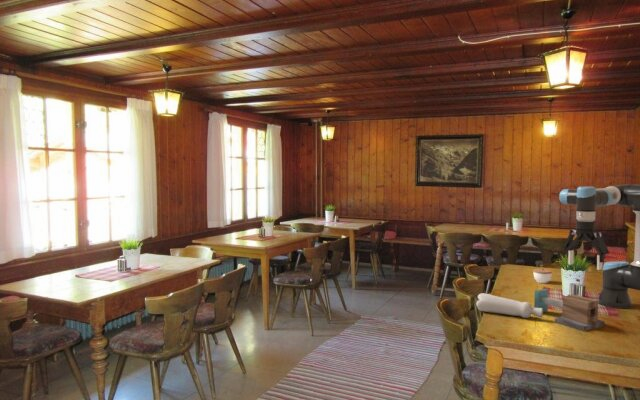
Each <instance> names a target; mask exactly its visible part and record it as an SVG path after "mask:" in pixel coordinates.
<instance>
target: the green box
mask: <svg viewBox="0 0 640 400" xmlns="http://www.w3.org/2000/svg"><path fill="white" fill-rule="evenodd" d="M549 306H552V307H555V308H559V309H562V308H563V299H559V298H555V297H550V296H549V288H541V289H537V290H534V305H533V308H535V307H536V308H543V313H545V312H548V311H549Z"/></svg>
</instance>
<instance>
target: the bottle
mask: <svg viewBox="0 0 640 400" xmlns="http://www.w3.org/2000/svg"><path fill="white" fill-rule="evenodd" d="M476 307H477V310H479V311H480V312H485V313H491V314H501V315H507V316H513V317H514V316H515V317H521V318H522V319H528V318H530V317H531V316H534V317H538V318H540V319H542V318H543V315H544V312H543V308H536V307H535V308H534V307H532V304H531V303H529V302H528V301H523V302H522V301H519V300H515V299H510V298H507V297H502V296H497V295H493V294H490V293H485V292H482V293H479V294H478V295H477V301H476Z"/></svg>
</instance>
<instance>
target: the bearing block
mask: <svg viewBox="0 0 640 400" xmlns="http://www.w3.org/2000/svg"><path fill="white" fill-rule="evenodd" d="M562 301H563V308H561V309H562V311H561V316H557V317H555V318H554V323H556V324H559V325H563V326H565V327H569V328H572V329H575V330H579V331H582V332H586V331H590V330H593V329H596V328H601V327H604V326H605V320H601V319H598V318H599V317H598V316H599V312H598V311H599V303H598V299H593V298H590V297H584V296H581V295H576V294H570V295H564V296H562Z"/></svg>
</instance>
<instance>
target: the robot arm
mask: <svg viewBox="0 0 640 400" xmlns="http://www.w3.org/2000/svg"><path fill="white" fill-rule="evenodd" d="M558 198H559V201H560V203H561V204H563V205H569V206H570V205H572V206H576V213H575V214H576V217H575V218H576V219H575V220H576V221H575V222H576V223H575V225H576V226H575V228H576V229H570V230H569V233H568V237H567V238H566V240H565V242H564V244H563V245H562V248H563V249H564V250H565V249H566V257H567V258H568V259H567V261H568V262H567V263H568V265H569V266H570V265H574V262H575V259H574V257H575V256H574V253H575V250H573V249H574V248H575V246H577V245H578V244H579V243H580V242H583V241H585V242H588V243H590V244H591V246H592V247H593V248H594V250H595V251H596V252H597V256H596V270H597V271H600V270H602V289H601V292H600V293H599V295H598V298H597V300H598V305H601V306H605V307H608V308H615V309H630V308H632V300H631V296H630V294H629V289H630V290H636V291H640V184H638V183H637V184H635V183H633V184H632V183H625V184H620V185H619V184H617V185H610V186H607V187H605V188H603V187H602V188H601V187H600V188H599V187H598V188H596V187H595V186H578V187H577V188H575V189H573V188H565V189H562V190H561V191H560V193H559V197H558ZM611 205H615V206H617V205H618V206H620V207H621V206H622V207H632V212H633V213H635V228H634V229H635V231H634V233H635V235H634V254H633V255H634V257H633V258H634V259H633V261H632V262H627V261H617V260H615V261H606V262H605V255H609V254H610V251H609V248H608V246H607V245H606V243H605V240H604V238H603V233H602V232H596V231H595V230H596V207H597V208H598V207H601V208H602V207H606V206H611ZM575 235H576V236H575ZM573 239H574V240H573Z"/></svg>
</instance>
